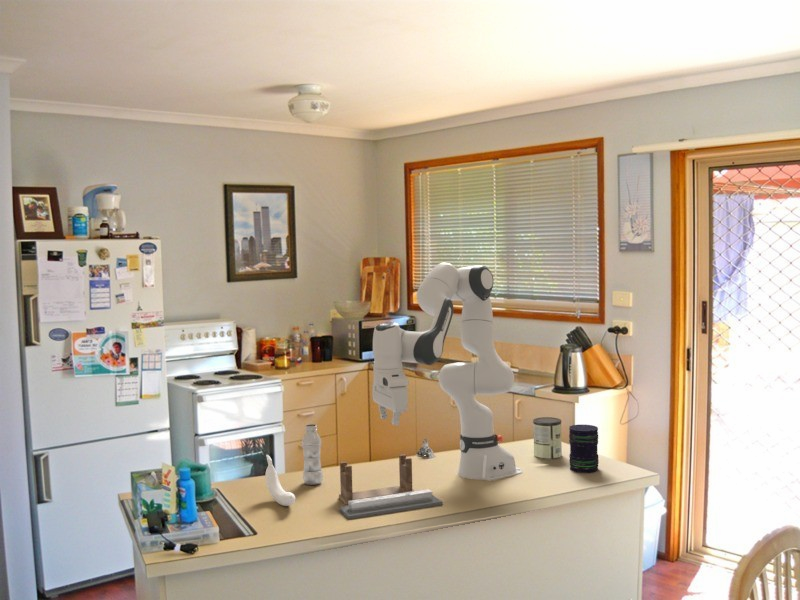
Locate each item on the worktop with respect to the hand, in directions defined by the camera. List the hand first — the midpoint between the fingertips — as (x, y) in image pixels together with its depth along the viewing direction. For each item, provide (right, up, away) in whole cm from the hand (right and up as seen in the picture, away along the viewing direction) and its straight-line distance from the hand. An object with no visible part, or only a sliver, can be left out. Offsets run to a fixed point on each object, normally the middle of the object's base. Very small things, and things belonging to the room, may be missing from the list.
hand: (389, 421), depth 240 cm
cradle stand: (-4, -25, +11) cm, 28 cm away
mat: (0, -26, -1) cm, 26 cm away
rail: (0, -25, -1) cm, 25 cm away
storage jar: (+67, -22, +35) cm, 79 cm away
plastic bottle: (-26, -25, +26) cm, 44 cm away
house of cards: (+15, -23, +57) cm, 64 cm away
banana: (-33, -27, +5) cm, 43 cm away
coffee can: (+58, -22, +53) cm, 81 cm away
